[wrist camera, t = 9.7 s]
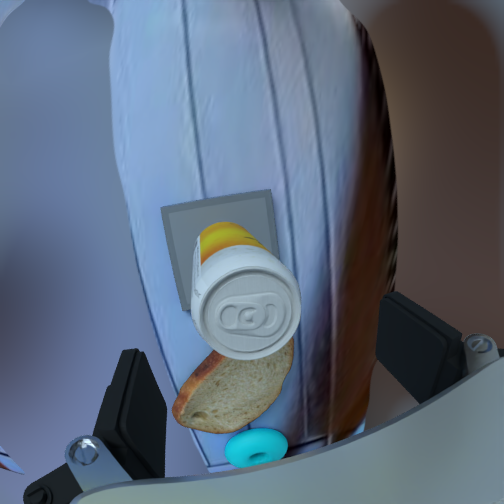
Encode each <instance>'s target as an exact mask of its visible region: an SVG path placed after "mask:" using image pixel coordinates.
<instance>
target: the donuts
mask: <svg viewBox="0 0 504 504" xmlns="http://www.w3.org/2000/svg"><path fill="white" fill-rule="evenodd" d="M287 448H288V443H287V440H286V438H285V436H284V435H283V434H282V433H280V432H278V431H276V430H273V429H269V428H255V429H250V430H246V431H243V432H241V433H239V434H237V435H235V436H234V437H232V438H231V439H230V440H229V441H228V443H227V444H226V447H225V456H226V458H227V460H228V461H229V462H230V463H231V464H232V465H234V466H236V467H238V468H245V467H251V466H255V465H260V464H265V463H269V462H273V461H277V460H280V459H281V458H282V457H283V456H284V455H285V453H286V451H287Z"/></svg>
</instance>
